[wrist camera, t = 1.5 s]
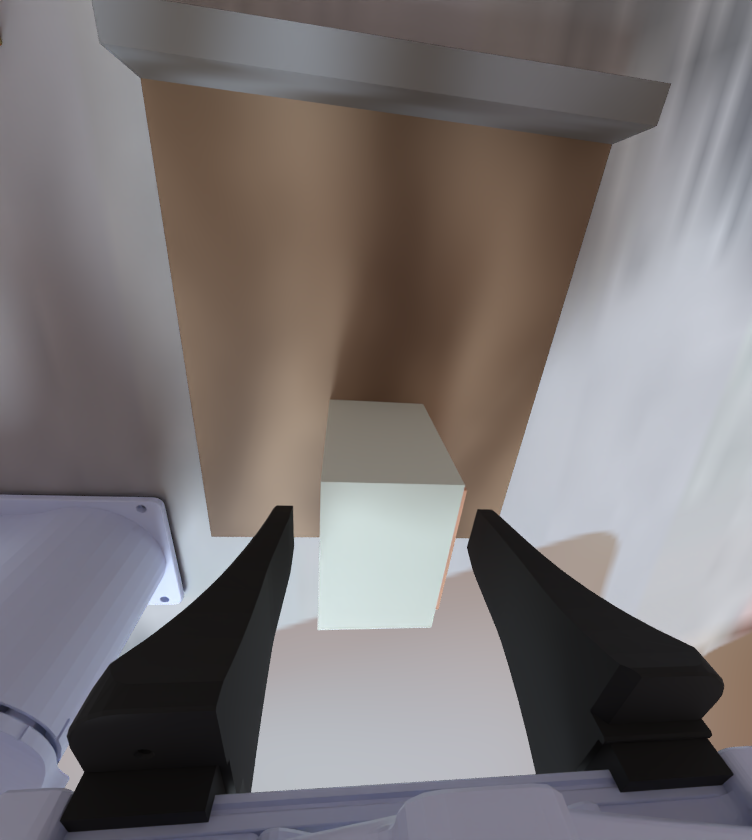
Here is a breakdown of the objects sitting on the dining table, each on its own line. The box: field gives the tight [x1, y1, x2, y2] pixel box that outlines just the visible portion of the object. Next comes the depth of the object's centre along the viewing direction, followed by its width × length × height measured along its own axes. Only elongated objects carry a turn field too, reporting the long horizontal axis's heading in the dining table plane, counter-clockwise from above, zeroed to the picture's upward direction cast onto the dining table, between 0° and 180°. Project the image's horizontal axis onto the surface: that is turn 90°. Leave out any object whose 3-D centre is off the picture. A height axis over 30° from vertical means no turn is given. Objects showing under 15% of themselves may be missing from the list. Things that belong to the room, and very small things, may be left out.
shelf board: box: [92, 0, 671, 538], centre depth 15 cm, size 16×20×3 cm
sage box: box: [318, 399, 467, 630], centre depth 15 cm, size 5×7×6 cm
